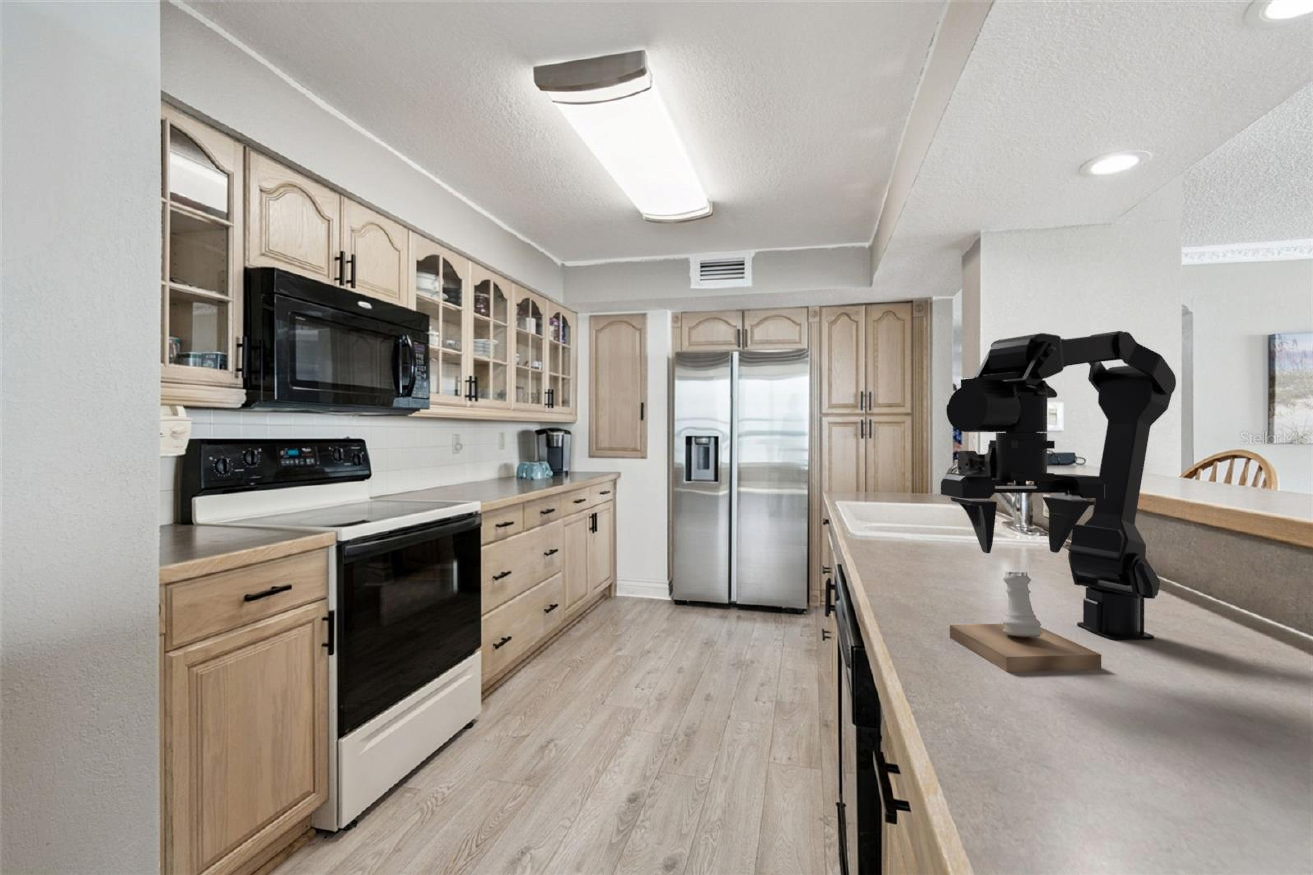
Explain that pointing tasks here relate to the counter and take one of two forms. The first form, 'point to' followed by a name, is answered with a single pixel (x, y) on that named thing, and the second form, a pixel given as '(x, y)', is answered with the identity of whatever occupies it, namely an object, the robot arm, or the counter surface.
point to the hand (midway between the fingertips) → (1020, 552)
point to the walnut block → (1024, 649)
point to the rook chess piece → (1020, 607)
